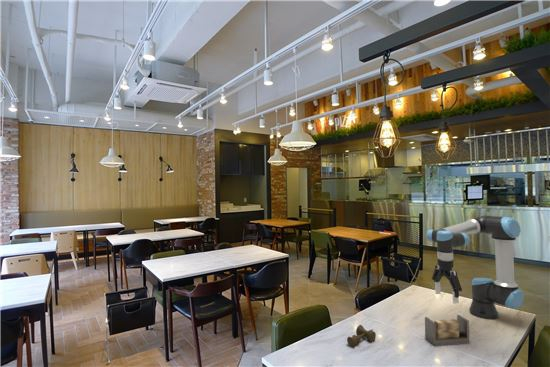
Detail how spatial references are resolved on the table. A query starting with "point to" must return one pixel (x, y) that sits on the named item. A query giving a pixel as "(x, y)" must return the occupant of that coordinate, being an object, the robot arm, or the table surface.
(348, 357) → the table surface
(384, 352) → the table surface
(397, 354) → the table surface
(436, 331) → the door panel
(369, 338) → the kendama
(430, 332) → the grey u-shaped piece
